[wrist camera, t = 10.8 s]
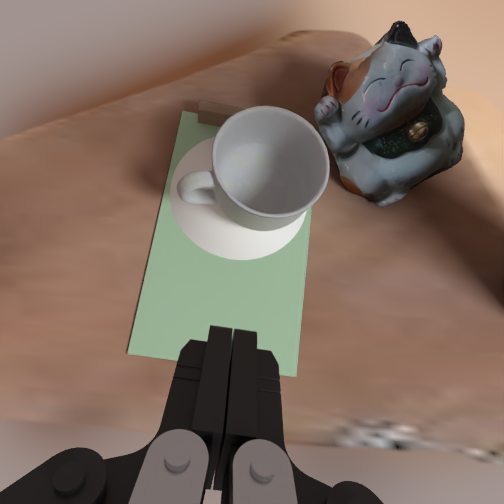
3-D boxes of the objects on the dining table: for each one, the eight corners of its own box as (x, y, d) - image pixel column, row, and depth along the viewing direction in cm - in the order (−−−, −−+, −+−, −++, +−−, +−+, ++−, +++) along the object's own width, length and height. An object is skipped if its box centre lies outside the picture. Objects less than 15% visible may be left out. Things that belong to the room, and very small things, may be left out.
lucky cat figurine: (354, 224, 39) (342, 123, 28) (310, 159, 46) (286, 59, 35) (482, 164, 38) (522, 35, 27) (417, 107, 45) (428, -13, 34)
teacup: (298, 149, 41) (319, 102, 33) (316, 238, 38) (342, 209, 31) (176, 156, 39) (168, 108, 31) (185, 251, 36) (178, 223, 28)
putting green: (317, 137, 42) (324, 124, 40) (295, 376, 34) (302, 378, 32) (182, 111, 41) (181, 96, 38) (127, 353, 33) (121, 353, 31)
